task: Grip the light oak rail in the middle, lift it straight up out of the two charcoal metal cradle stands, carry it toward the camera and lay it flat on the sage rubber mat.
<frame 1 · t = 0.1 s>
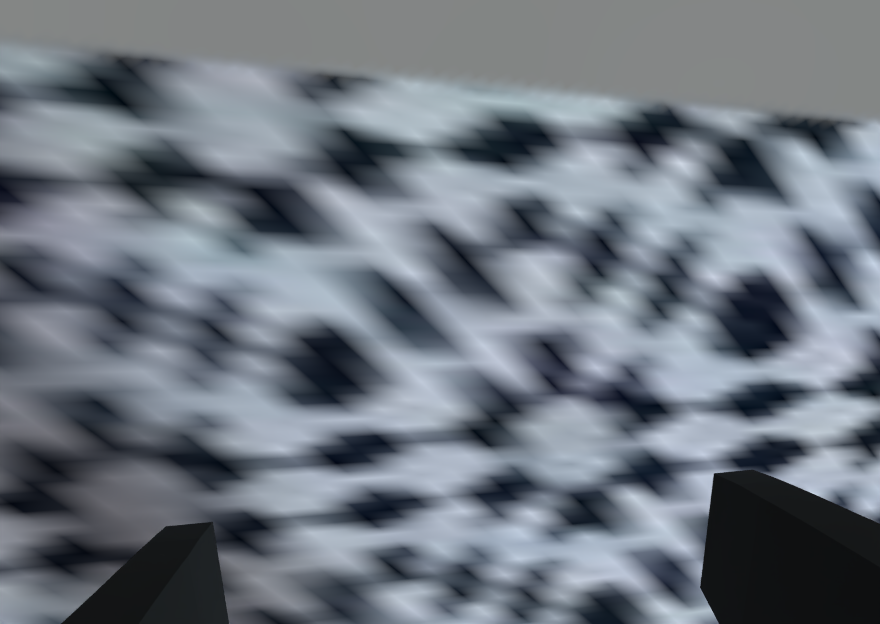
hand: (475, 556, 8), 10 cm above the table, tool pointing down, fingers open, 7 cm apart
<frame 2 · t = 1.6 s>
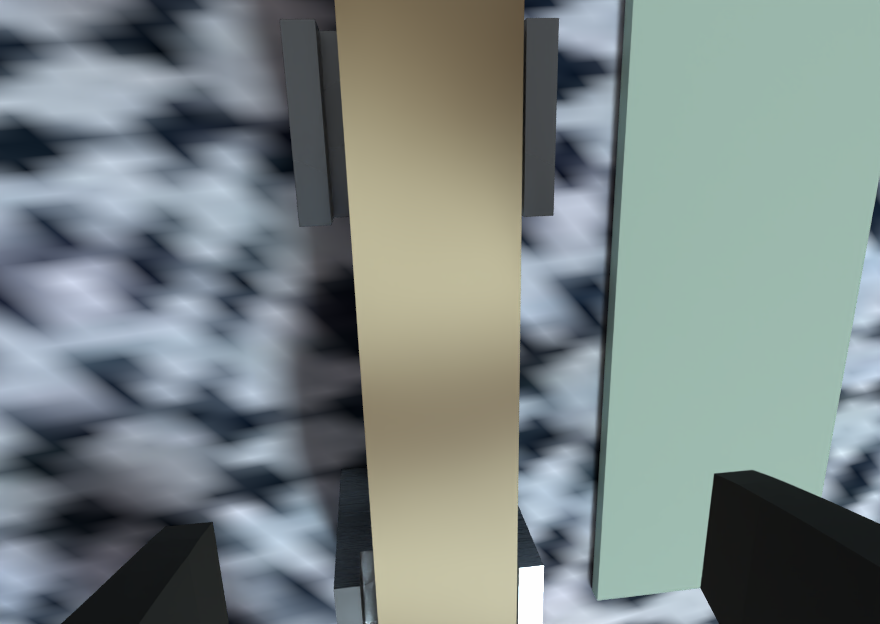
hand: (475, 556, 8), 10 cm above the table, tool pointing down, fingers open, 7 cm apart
oak rail: (429, 393, 14), point 4 cm above the table, touching cradle stands
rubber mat: (727, 317, 19), on the table
cradle stands: (415, 338, 18), on the table
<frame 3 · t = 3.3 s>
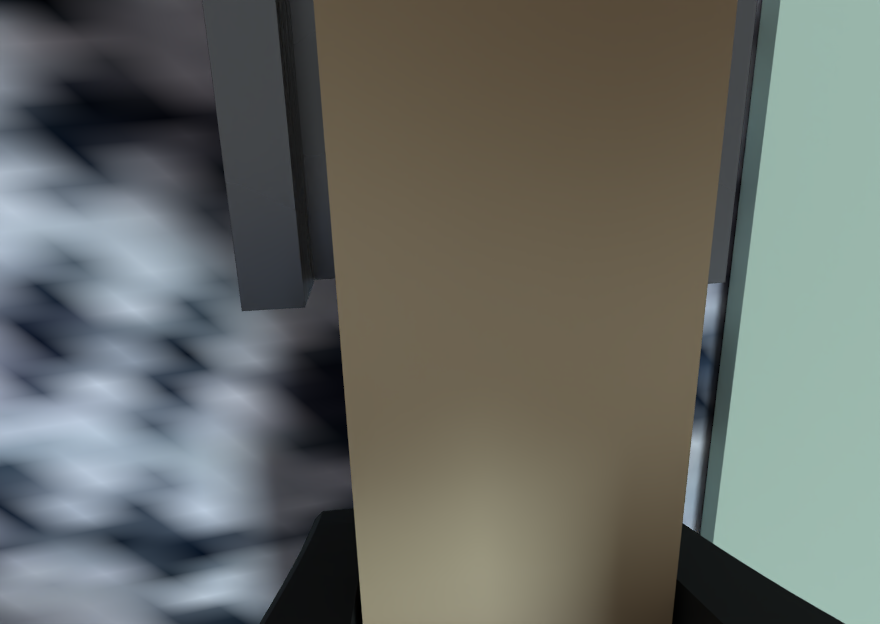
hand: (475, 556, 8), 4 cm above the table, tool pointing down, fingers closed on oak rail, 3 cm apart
oak rail: (476, 561, 8), point 4 cm above the table, touching cradle stands, gripper
cradle stands: (441, 428, 12), on the table
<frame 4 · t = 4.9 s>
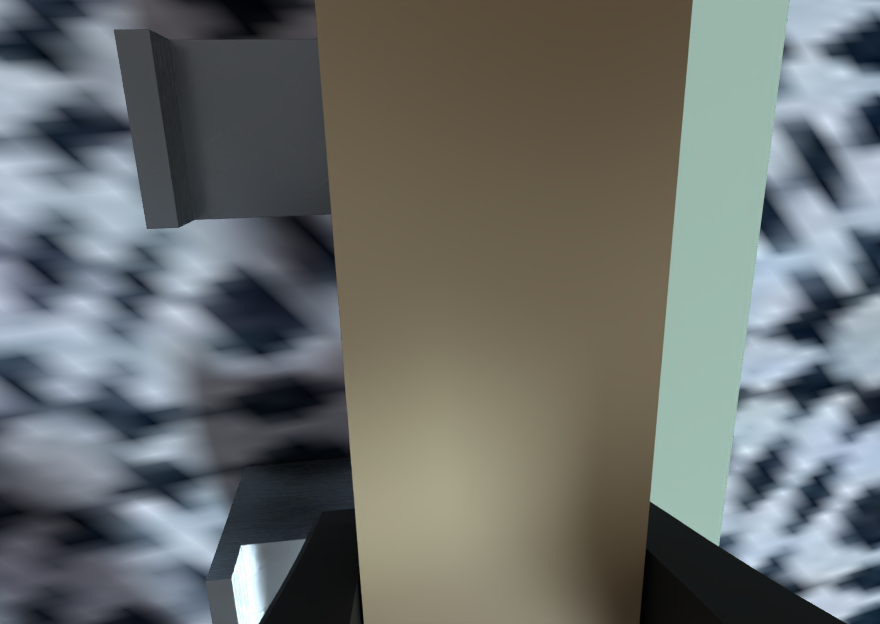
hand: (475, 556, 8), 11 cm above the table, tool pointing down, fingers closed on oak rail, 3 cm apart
oak rail: (467, 533, 9), point 10 cm above the table, touching gripper
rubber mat: (625, 317, 19), on the table
cradle stands: (313, 337, 18), on the table
when the fingers open (2 cm above the table, at t = 6.9 s): oak rail stays where it is, resting on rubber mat.
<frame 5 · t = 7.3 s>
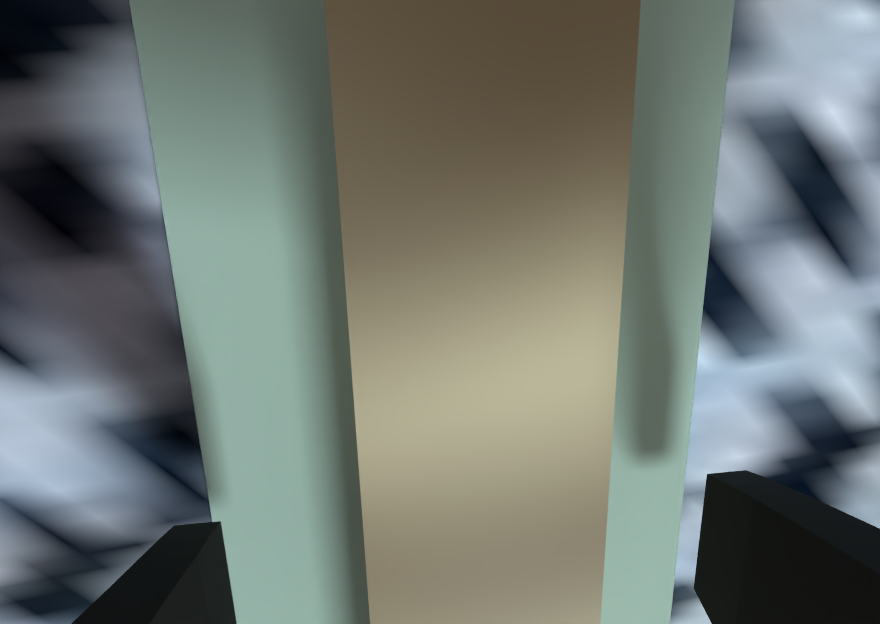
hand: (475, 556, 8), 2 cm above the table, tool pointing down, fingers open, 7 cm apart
oak rail: (458, 493, 10), resting on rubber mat
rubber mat: (454, 479, 10), on the table
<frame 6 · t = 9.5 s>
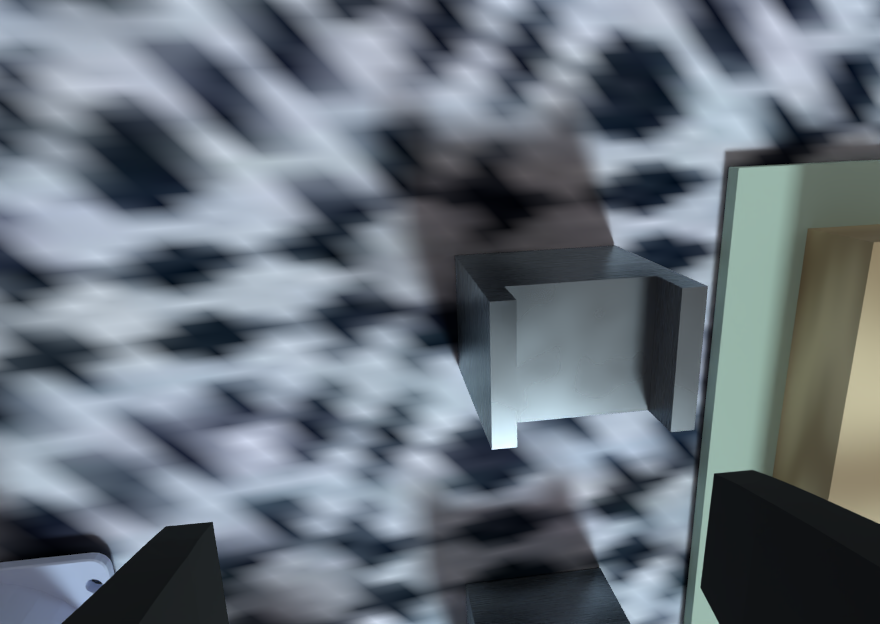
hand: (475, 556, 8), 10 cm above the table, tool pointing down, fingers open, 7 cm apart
oak rail: (815, 452, 21), resting on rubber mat
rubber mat: (805, 446, 21), on the table
cradle stands: (534, 474, 20), on the table
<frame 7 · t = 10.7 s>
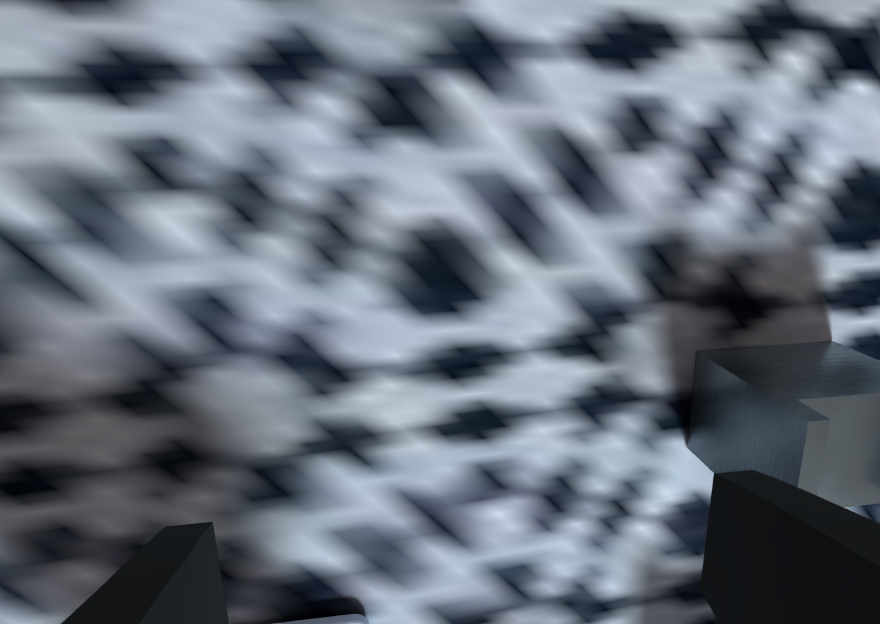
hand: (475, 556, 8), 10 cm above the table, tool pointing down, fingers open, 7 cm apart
cradle stands: (739, 541, 22), on the table
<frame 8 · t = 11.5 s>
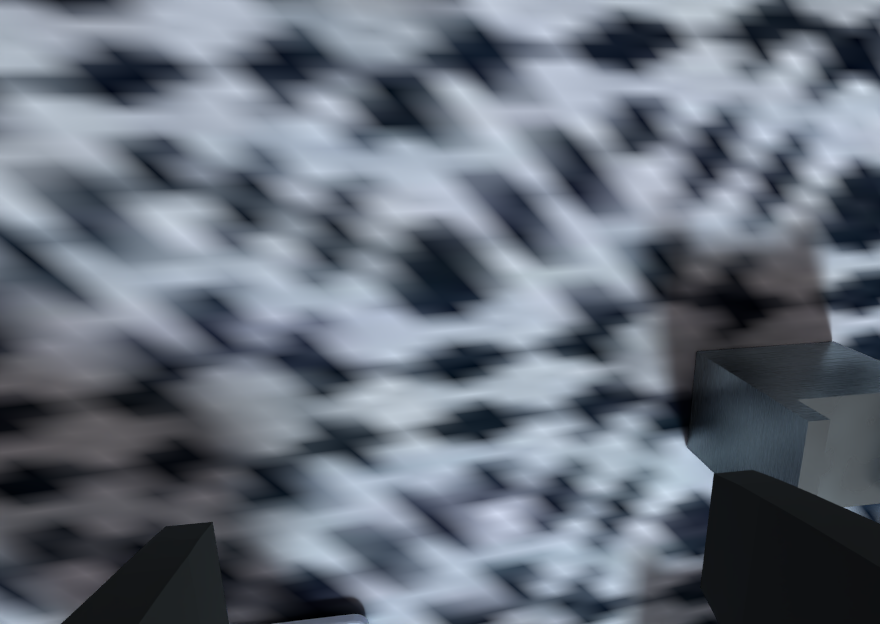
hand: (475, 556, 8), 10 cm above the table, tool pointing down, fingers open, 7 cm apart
cradle stands: (739, 541, 22), on the table
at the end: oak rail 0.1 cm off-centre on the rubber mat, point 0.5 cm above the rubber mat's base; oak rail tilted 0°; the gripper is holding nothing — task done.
